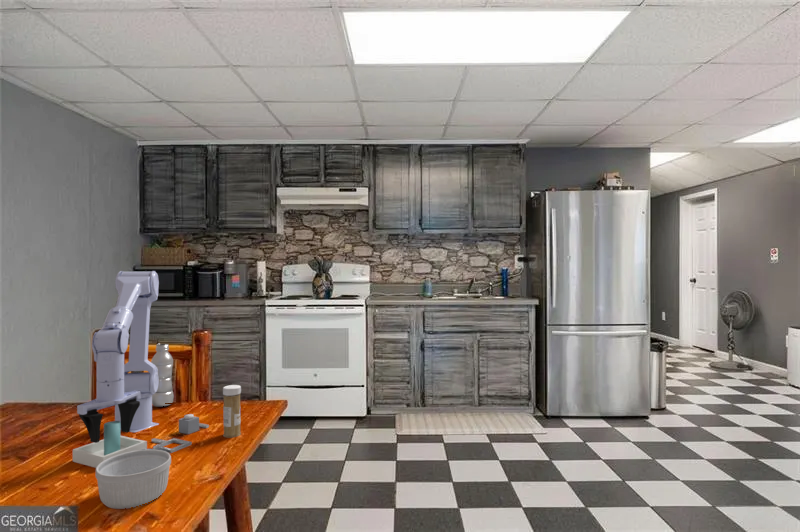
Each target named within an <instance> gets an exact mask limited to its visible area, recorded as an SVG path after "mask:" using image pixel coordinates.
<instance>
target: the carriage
mask: <svg viewBox="0 0 800 532" xmlns="http://www.w3.org/2000/svg"><path fill="white" fill-rule="evenodd" d="M194 415H195V414H194V413H193V414H192V413H189V414H185V415H183V416H184V417H181V418H179V419H178V433H179V434H184V435H185V434H186V435H191V434H192V433H194V432H195V433H197V432H199V431H200V430H199V428H200V427H199V423H200V417H199V416H194Z"/></svg>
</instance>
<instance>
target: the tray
mask: <svg viewBox="0 0 800 532" xmlns="http://www.w3.org/2000/svg"><path fill="white" fill-rule="evenodd" d="M142 449H148V441H147V440H143V439H138V438H134V437H128V436H125V435H120V450H118V451H116V452H113V453H110V454H107V455H104V438H103V439H101V440H99V442H97V443H95V442H91V443H87V444H85V445H82V446H79V447H76V448H73V449H72V462H74V463H77V464H80V465H85V466H87V467H90V468H95V469H96V467H97V466H98V465H99V464H100V463H101V462H103V461H104V460H106V459H108V458H111V457H113V456H116V455H119V454H122V453H126V452H131V451H137V450H142Z"/></svg>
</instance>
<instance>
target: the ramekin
mask: <svg viewBox="0 0 800 532" xmlns="http://www.w3.org/2000/svg"><path fill="white" fill-rule="evenodd" d="M148 449H149V450H137V451H131V452H126V453H122V454H119V455H116V456H113V457H111V458H108V459H106V460H104V461H103V462H101V463H100V464H99V465H98V466H97V467H96V468H95V472H94V473H95V478H96V480H97V487H98V494H99V499H100V501H101V503H102V504H103V505H105V506H106V507H107V508H111V509H114V510H115V509H116V510H120V509H124V510H125V508H126V509H131V507H133V508H137V507H136V506H138V507H140V506H139V505H141V506H143V505H142V504H145V503H147V504H149V503H148V502H150V501H152V500H154V499H156V498H157V499H158V497H159V496H160V495H161V496H162V495H163V494H162V493H164V492H165V491H166V489H167V486H168V482H169V475H170V466H171V464H172V456H171V453H168V452H166V451H162V450H153V448H148ZM161 496H160V497H161ZM160 497H159V498H160ZM157 499H156V500H157ZM154 501H155V500H154ZM152 502H153V501H152ZM150 503H151V502H150ZM145 505H146V504H145Z"/></svg>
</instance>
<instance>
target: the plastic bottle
mask: <svg viewBox="0 0 800 532" xmlns="http://www.w3.org/2000/svg"><path fill="white" fill-rule="evenodd" d="M169 350H170V347H169V343H157V344H156V346H155V351H156V353H155V354H154V355H153V357H152V358H151V361H150V362H151V363H153V364H154V365H155V366H156V367H157V369H158V377H159V384H158V389H157V392H156V393H155V394H153V395H152V407H157V408H160V407H162V408H163V406H164V407H167V406H168V407H169V406H170V405H171V404H165V403H173V402H174V399H175V398H174V397H175V396H174V391H173V385H172V384H173V383H172V376H173V375H172V373H173V367H174V366H173V365H174V359H173V356H172V354H171V353H170V352H169Z"/></svg>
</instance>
